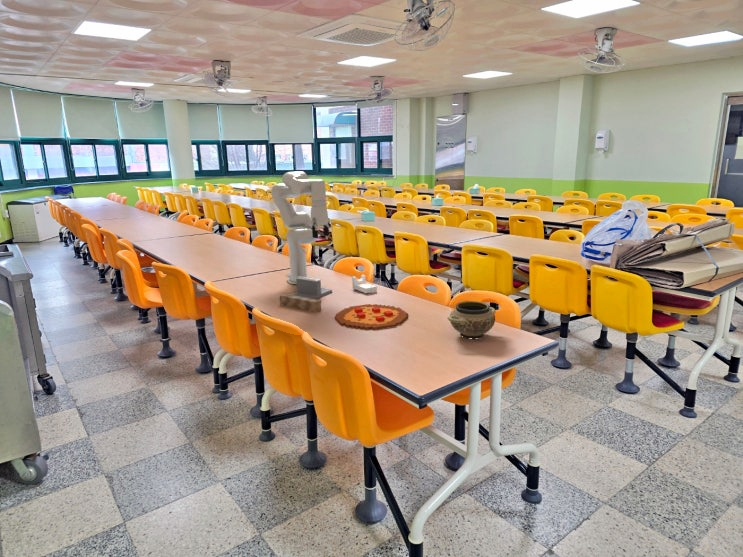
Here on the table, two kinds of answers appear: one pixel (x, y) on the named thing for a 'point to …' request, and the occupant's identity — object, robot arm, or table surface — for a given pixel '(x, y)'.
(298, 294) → the balance stand
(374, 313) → the pizza
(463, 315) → the ceramic bowl
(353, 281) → the bracket
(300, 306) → the brown wooden bar
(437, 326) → the table surface
